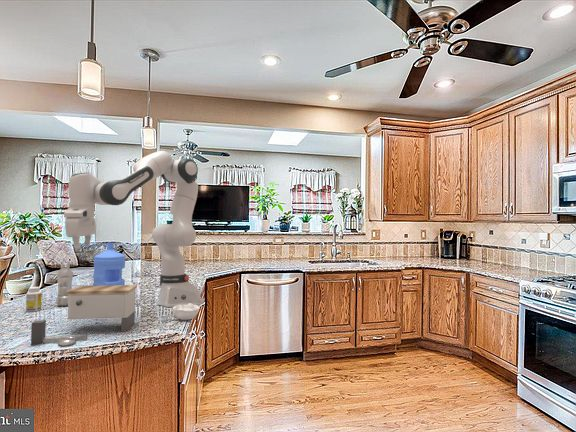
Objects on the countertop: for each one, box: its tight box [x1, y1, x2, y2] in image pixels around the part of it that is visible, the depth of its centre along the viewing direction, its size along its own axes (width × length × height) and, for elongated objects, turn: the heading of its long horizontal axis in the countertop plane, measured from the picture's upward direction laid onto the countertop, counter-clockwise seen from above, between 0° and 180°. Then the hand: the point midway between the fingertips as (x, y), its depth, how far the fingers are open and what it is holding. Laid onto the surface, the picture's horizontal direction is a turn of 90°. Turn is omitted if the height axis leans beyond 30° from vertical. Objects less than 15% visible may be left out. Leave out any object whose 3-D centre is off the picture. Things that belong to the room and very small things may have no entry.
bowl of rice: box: [172, 303, 201, 321], centre depth 143 cm, size 10×12×7 cm
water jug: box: [92, 242, 126, 286], centre depth 192 cm, size 16×16×28 cm
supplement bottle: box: [25, 286, 43, 313], centre depth 154 cm, size 6×6×10 cm
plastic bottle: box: [55, 262, 74, 307], centre depth 163 cm, size 6×7×20 cm
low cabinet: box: [66, 284, 138, 332], centre depth 129 cm, size 21×12×15 cm, turn 99°
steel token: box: [57, 337, 77, 348], centre depth 113 cm, size 5×5×2 cm
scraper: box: [30, 319, 88, 346], centre depth 115 cm, size 16×3×7 cm, turn 107°
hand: (82, 247), depth 139 cm, fingers open, 8 cm apart
